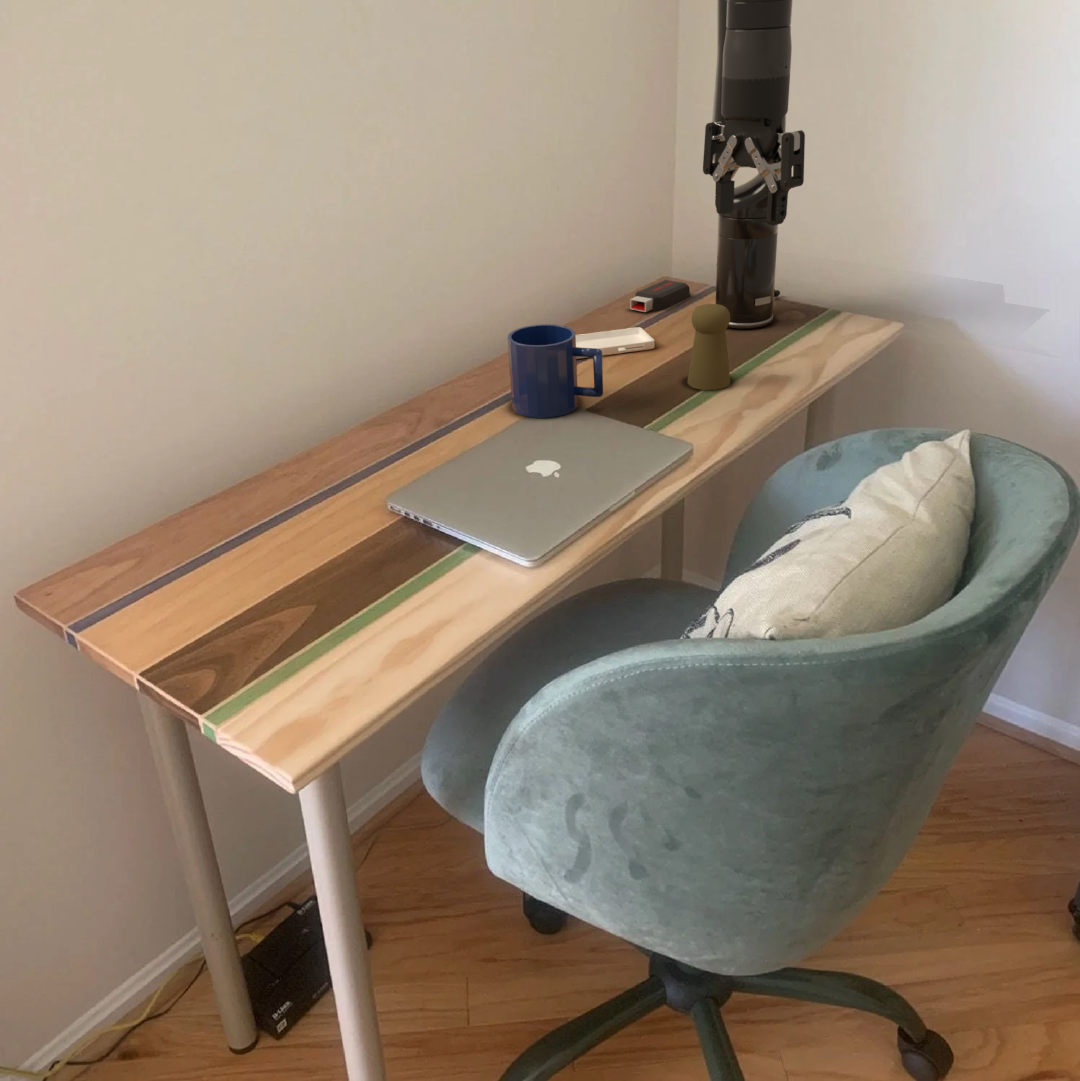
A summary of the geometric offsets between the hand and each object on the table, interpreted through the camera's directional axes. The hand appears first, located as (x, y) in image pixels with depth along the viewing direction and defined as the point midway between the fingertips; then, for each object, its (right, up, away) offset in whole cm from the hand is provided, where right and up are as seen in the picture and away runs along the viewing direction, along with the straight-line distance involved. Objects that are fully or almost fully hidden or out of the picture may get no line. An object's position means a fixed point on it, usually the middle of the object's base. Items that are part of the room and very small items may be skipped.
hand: (749, 218), depth 125 cm
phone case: (-15, -9, +37) cm, 41 cm away
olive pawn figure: (-1, -17, +22) cm, 27 cm away
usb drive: (-5, +2, +55) cm, 56 cm away
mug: (-23, -20, +17) cm, 35 cm away
